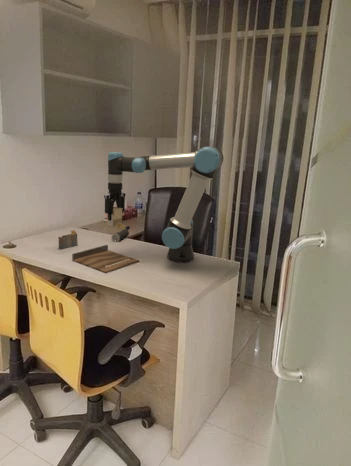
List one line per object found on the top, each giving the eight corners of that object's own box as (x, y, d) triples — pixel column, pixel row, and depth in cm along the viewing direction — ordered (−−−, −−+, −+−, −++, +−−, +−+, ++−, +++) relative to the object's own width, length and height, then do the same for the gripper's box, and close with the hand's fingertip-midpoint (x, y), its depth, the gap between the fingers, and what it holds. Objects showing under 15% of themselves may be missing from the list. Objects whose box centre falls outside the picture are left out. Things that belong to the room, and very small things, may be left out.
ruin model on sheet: (74, 245, 220) (73, 229, 218) (77, 246, 218) (77, 230, 216) (58, 249, 211) (57, 233, 209) (61, 250, 210) (61, 234, 207)
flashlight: (122, 235, 245) (122, 228, 243) (129, 237, 243) (129, 229, 242) (111, 241, 231) (111, 233, 229) (119, 242, 229) (119, 234, 228)
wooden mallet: (131, 228, 193) (131, 210, 191) (124, 230, 189) (125, 211, 187) (114, 224, 201) (114, 206, 198) (107, 225, 197) (107, 207, 194)
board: (139, 261, 196) (139, 255, 195) (106, 273, 177) (106, 266, 176) (106, 251, 211) (106, 244, 210) (72, 260, 192) (72, 253, 191)
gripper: (122, 180, 200) (121, 221, 206) (97, 182, 186) (97, 226, 192) (132, 181, 196) (131, 223, 202) (107, 184, 182) (107, 229, 188)
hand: (114, 225), depth 197 cm, fingers closed on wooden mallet, 5 cm apart
